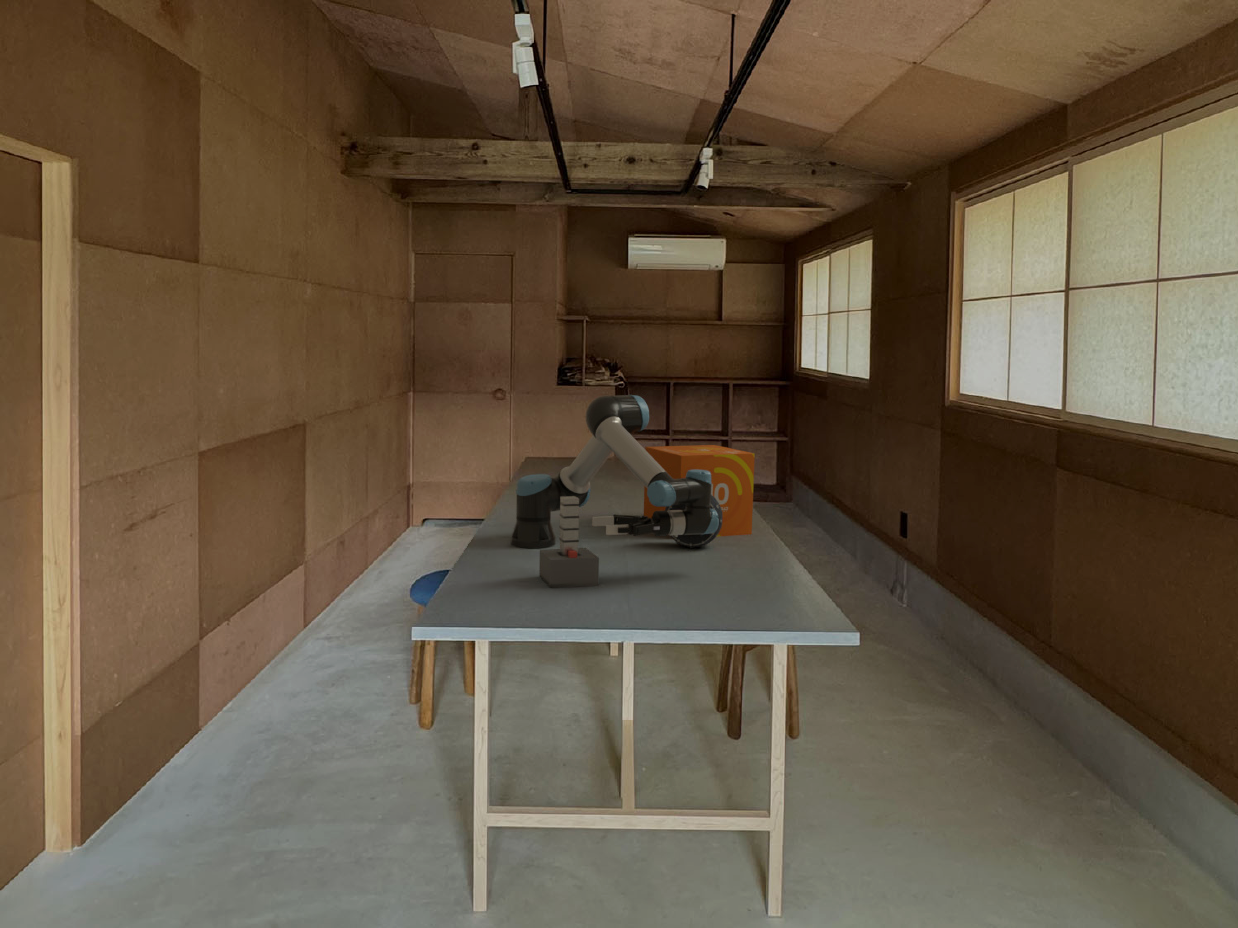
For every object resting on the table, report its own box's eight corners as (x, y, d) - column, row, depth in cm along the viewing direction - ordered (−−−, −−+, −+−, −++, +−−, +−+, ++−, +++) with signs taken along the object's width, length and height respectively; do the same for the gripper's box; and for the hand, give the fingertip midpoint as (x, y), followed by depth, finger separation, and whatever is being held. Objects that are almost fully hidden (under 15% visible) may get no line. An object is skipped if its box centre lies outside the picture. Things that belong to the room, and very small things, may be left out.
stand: (550, 587, 273) (551, 554, 272) (539, 576, 286) (539, 544, 285) (598, 585, 277) (599, 552, 276) (585, 573, 290) (585, 542, 289)
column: (562, 578, 278) (563, 499, 276) (558, 574, 283) (559, 496, 280) (578, 577, 280) (579, 498, 277) (574, 573, 284) (575, 496, 282)
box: (678, 539, 345) (681, 455, 341) (643, 524, 372) (645, 446, 369) (751, 534, 357) (754, 453, 353) (712, 520, 384) (714, 444, 381)
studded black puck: (720, 551, 326) (722, 492, 323) (661, 547, 330) (662, 489, 327) (723, 545, 336) (725, 488, 334) (666, 541, 340) (667, 485, 338)
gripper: (682, 543, 277) (611, 547, 271) (652, 527, 301) (587, 530, 294) (683, 518, 276) (612, 520, 270) (653, 503, 300) (587, 505, 293)
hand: (599, 525), depth 282 cm, fingers open, 13 cm apart
